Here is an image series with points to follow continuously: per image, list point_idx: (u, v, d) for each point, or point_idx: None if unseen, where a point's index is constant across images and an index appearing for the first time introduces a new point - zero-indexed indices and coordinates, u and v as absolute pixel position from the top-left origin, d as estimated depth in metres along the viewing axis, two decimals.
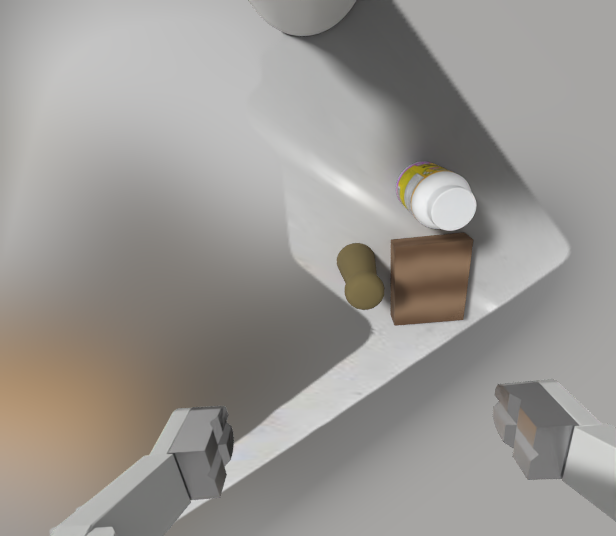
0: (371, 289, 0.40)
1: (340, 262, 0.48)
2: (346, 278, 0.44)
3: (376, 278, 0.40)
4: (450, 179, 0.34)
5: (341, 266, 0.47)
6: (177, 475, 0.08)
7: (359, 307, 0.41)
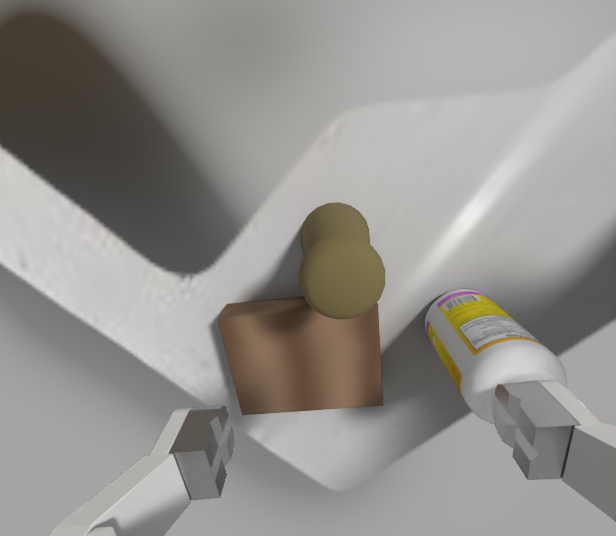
0: (363, 298, 0.18)
1: (346, 212, 0.25)
2: (345, 232, 0.21)
3: (376, 300, 0.19)
4: None
5: (343, 215, 0.24)
6: (177, 475, 0.08)
7: (314, 276, 0.18)
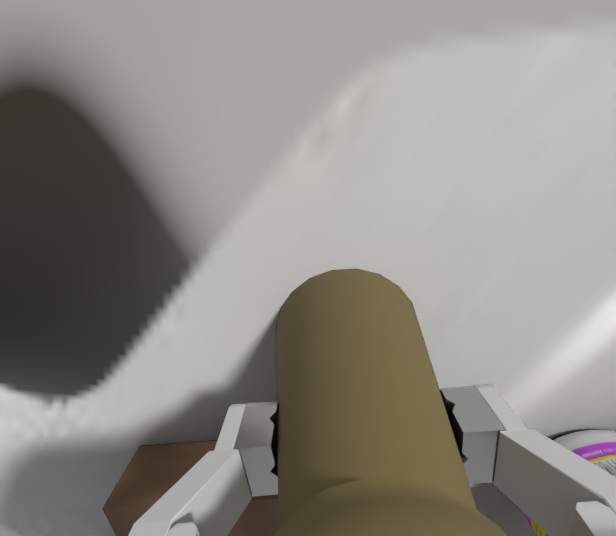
0: None
1: (378, 305, 0.10)
2: (394, 421, 0.07)
3: None
4: None
5: (374, 318, 0.10)
6: (241, 471, 0.08)
7: None
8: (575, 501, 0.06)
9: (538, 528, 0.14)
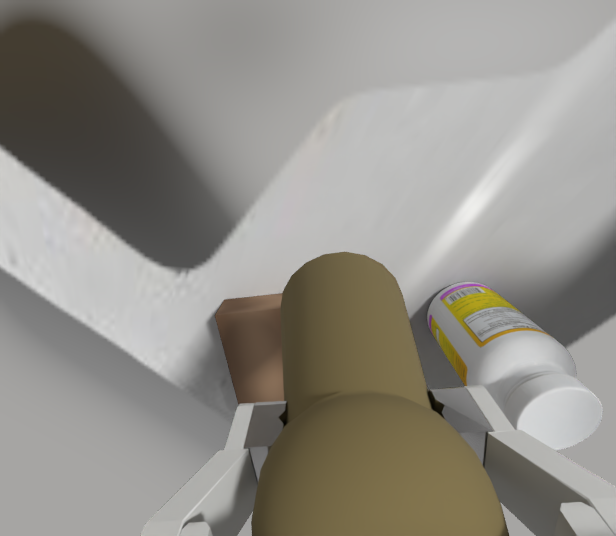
0: None
1: (361, 279, 0.12)
2: (367, 355, 0.09)
3: None
4: None
5: (357, 288, 0.12)
6: (251, 470, 0.08)
7: None
8: (561, 502, 0.06)
9: (433, 329, 0.28)
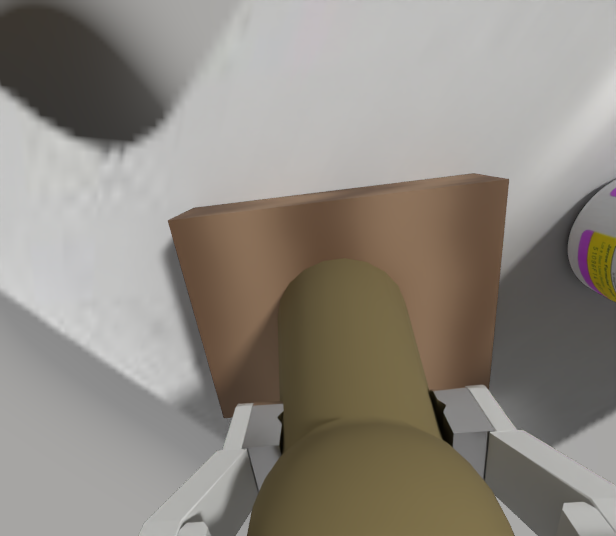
0: None
1: (362, 288, 0.12)
2: (370, 375, 0.08)
3: None
4: None
5: (358, 299, 0.11)
6: (249, 470, 0.08)
7: None
8: (563, 502, 0.06)
9: (597, 256, 0.14)
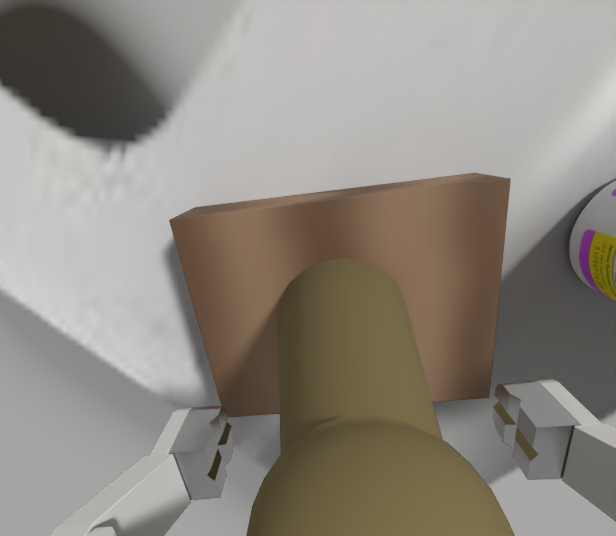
0: None
1: (362, 287, 0.12)
2: (370, 375, 0.08)
3: None
4: None
5: (358, 298, 0.11)
6: (177, 475, 0.08)
7: None
8: None
9: (599, 256, 0.14)
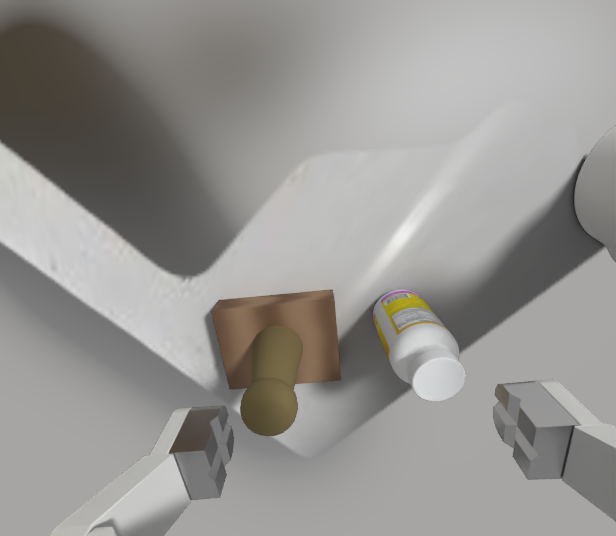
0: (280, 425, 0.28)
1: (280, 339, 0.35)
2: (273, 368, 0.31)
3: None
4: None
5: (277, 344, 0.34)
6: (177, 475, 0.08)
7: (247, 414, 0.27)
8: None
9: (375, 324, 0.37)
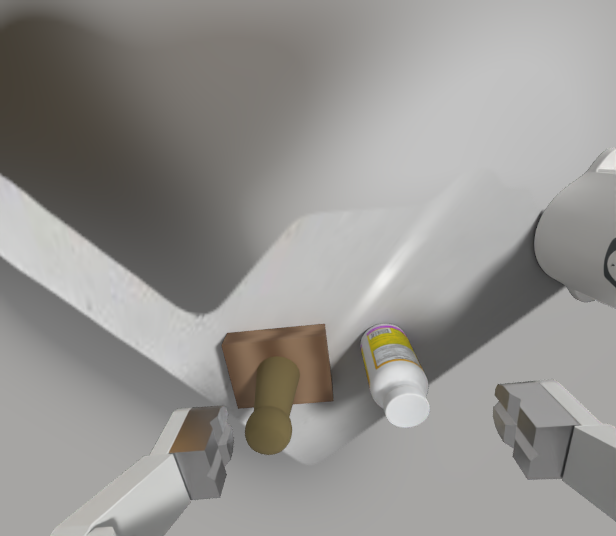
0: (277, 446, 0.34)
1: (279, 369, 0.41)
2: (272, 397, 0.37)
3: None
4: (425, 394, 0.35)
5: (277, 374, 0.40)
6: (177, 475, 0.08)
7: (250, 438, 0.34)
8: None
9: None
